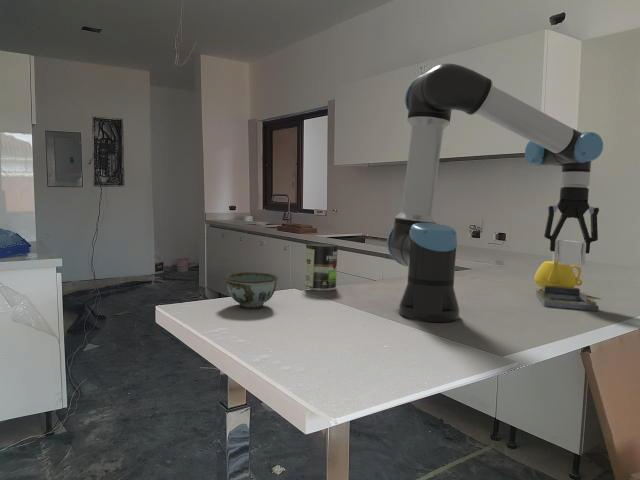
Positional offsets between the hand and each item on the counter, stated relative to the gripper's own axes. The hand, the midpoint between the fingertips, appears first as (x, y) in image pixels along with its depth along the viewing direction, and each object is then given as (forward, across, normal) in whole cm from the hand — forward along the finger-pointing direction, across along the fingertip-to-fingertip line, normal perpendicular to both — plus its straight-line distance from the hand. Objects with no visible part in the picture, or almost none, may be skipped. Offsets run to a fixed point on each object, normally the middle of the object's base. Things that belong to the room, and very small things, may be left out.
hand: (568, 263), depth 146 cm
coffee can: (+12, +74, +13) cm, 76 cm away
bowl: (+12, +83, +46) cm, 96 cm away
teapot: (+12, -1, -20) cm, 24 cm away
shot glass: (0, 0, 0) cm, 0 cm away
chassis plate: (+12, 0, 0) cm, 12 cm away
